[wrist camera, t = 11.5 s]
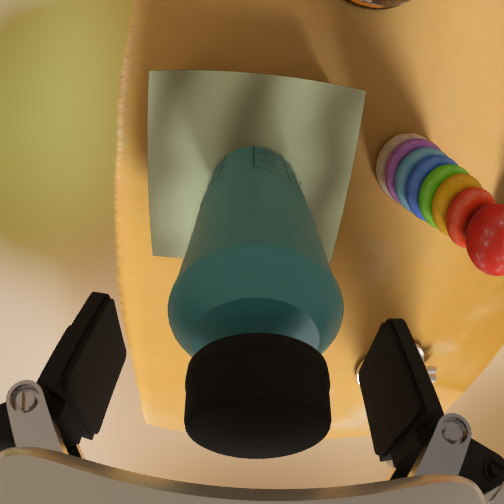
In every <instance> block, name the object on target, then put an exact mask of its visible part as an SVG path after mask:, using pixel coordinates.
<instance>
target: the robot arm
mask: <svg viewBox="0 0 504 504" xmlns="http://www.w3.org/2000/svg"><path fill="white" fill-rule="evenodd" d="M125 359H126V348H125V345H124V341H123V337H122V333H121V329H120V325H119V320H118V316H117V312H116V307H115V302H114V300H113V299H110V296H109V295H108V294H105V293H99V292H92V293H91V295H90V296H89V298H88V299H87V301H86V302H85V304H84V305H83V307H82V309H81V310H80V312H79V314H78V315H77V317H76V318H75V320H74V322H73V323H72V325H70V326H69V327H68V328H67V329H66V331H65V333H64V334H63V336H62V338H61V340H60V341H59V343H58V344H57V346H56V348H55V350H54V351H53V353H52V355H51V357H50V359H49V361H48V362H47V364H46V366H45V368H44V370H43V371H42V373H41V375H40V377H39V379H38V381H37V383H35V382H33V381H30V380H24V381H20V382H18V383H16V384H14V385H13V386H12V387H11V388H10V390H9V391H8V394H7V397H6V402H5V403H2V404H0V504H504V459H503V458H502V457H501V456H500V455H498V454H497V453H495V452H493V451H492V450H490V449H488V448H487V447H485V446H483V445H482V444H480V443H478V442H477V441H475V440H473V439H472V438H471V428H470V425H469V423H468V422H467V421H466V419H465V418H463V417H462V416H461V415H458V414H455V413H449V414H446V415H444V413H443V410H442V407H441V405H440V402H439V399H438V397H437V394H436V392H435V389H434V387H433V384H432V383H434V382H435V380H436V374H435V373H436V366H429V367H426V366H425V365H424V352H423V350H422V348H421V346H420V345H418V344H417V343H415V342H414V340H413V337H412V335H411V333H410V331H409V329H408V327H407V324H406V322H405V321H404V320H403V319H387V320H386V322H384V323H382V324H381V326H380V328H379V330H378V333H377V335H376V337H375V339H374V341H373V343H372V345H371V347H370V350H369V352H368V354H367V356H366V358H365V359H364V360H363V361H362V362H361V363H360V364H359V366H358V368H357V371H356V378H357V382H358V383H359V385H360V387H361V391H362V395H363V400H364V404H365V408H366V413H367V417H368V422H369V427H370V431H371V436H372V441H373V446H374V451H375V453H376V454H377V455H379V458H380V461H386V462H387V464H388V465H389V467H390V468H391V469H392V470H391V472H390V474H389V475H388V477H387V479H386V481H381V482H374V483H367V484H358V485H350V486H340V487H329V488H313V489H248V488H247V489H246V488H232V487H221V486H210V485H201V484H194V483H186V482H180V481H174V480H168V479H163V478H157V477H152V476H147V475H143V474H138V473H134V472H130V471H126V470H122V469H118V468H114V467H110V466H106V465H102V464H99V463H96V462H92V461H89V460H85V458H84V455H83V453H82V451H81V449H80V446H79V443H80V440H81V437H84V438H87V439H90V440H92V439H93V436H94V434H97V433H98V432H99V430H100V428H101V425H102V422H103V419H104V416H105V413H106V410H107V407H108V405H109V402H110V399H111V396H112V394H113V391H114V388H115V385H116V382H117V380H118V377H119V375H120V372H121V369H122V367H123V364H124V362H125Z"/></svg>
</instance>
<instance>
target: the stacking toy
mask: <svg viewBox="0 0 504 504" xmlns="http://www.w3.org/2000/svg"><path fill="white" fill-rule="evenodd" d="M376 175H377V180H378V183H379V185H380V187H381V189H382V190H383V192H384V193H385V194H386V195H387V196H388V197H389V198H391V199H392V200H394V201H396V202H398V203H399V204H401V205H403V206H404V207H405V208H406V209H407V210H408V211H410V212H411V213H414V214H415V215H416V216H417V217H418V218H420V219H421V220H424V221H427V222H428V223H429V224H430V225H431V226H433V227H435V228H438V229H439V230H440V231H441V232H442V233H444V234H445V235H448V236H450V238H451V240H452V241H453V242H454V243H455V244H457V245H458V246H460V247H464V248H467V252H468V255H469V257H470V259H471V261H472V262H473V263H474V265H475V266H476V267H477V268H478V269H479V270H481V271H482V272H484V273H486V274H488V275H492V276H501V275H504V205H503V204H496V203H495V200H494V198H493V197H492V195H491V194H490V193H489V192H487V191H486V190H484V189H483V188H482V186H481V184H480V183H479V181H478V180H477V179H475V178H474V177H473V176H471V175H469V173H468V172H467V171H466V170H465V169H463V168H462V167H460V166H458V164H457V163H456V162H455V161H453V160H452V159H450V158H449V157H448V156H447V155H446V154H445V153H443V152H442V151H441V150H440V149H439V147H437V146H436V145H435V144H434V143H432V142H431V141H429V140H428V139H426V138H425V137H423V136H421V135H419V134H415V133H403V134H399V135H397V136H395V137H393V138H391V139H390V140H389V141H388V142H387V143H386V144H385V145H384V146H383V148H382V149H381V151H380V153H379V156H378V158H377V163H376Z"/></svg>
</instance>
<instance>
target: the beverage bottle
mask: <svg viewBox="0 0 504 504" xmlns="http://www.w3.org/2000/svg"><path fill="white" fill-rule="evenodd" d="M254 146H255V145H254ZM254 146H253V147H245V148H241V149H238V150H235V151H233V152H231V153H230V154H228V155H227V156H226V155H225V156H226V157H224V158H223V159H222V160H221V161H220V162H219V163H218V162H217V163H218V164H217V166H216V165H215V166H216V168H215V167H214V169H215V170H213V171H214V172H212V173H213V175H211V174H210V175H211V176H212V177H211V179H208V180H210V182H209V181H208V182H209V185H208V186H207V191H205V194H204V195H203V196H204V197H203V200H202V202H201V205H200V210H199V213H198V214H197V215H198V216H197V219H196V223H195V225H194V230H193V233H192V235H191V238H190V241H189V244H188V247H187V250H186V253H185V256H184V260H183V263H182V266H181V269H180V272H179V275H178V278H177V280H176V281H175V283H174V285H173V288H172V291H171V293H170V297H169V302H168V317H169V323H170V326H171V329H172V332H173V334H174V336H175V338H176V340H177V341H178V343H179V344H180V345H181V347H182V348H183V349H184V350H185V351H186V352H187V353H188V354H189V355H190V356H192V359H191V360H190V362H189V365H188V369H187V375H186V380H185V390H186V401H185V415H184V424H185V429H186V432H187V433H188V435H189V436H190V437H191V439H192V440H193V441H195V442H196V443H197V444H199V445H200V446H202V447H204V448H206V449H208V450H211V451H213V452H216V453H219V454H223V455H227V456H232V457H238V458H248V459H265V458H275V457H282V456H287V455H291V454H295V453H298V452H301V451H304V450H306V449H308V448H310V447H312V446H314V445H316V444H317V443H319V442H320V441H321V440H322V439H323V438H324V437H325V436H326V435H327V433H328V431H329V429H330V425H331V409H330V396H329V391H330V378H329V372H328V367H327V364H326V361H325V359H324V357H323V356H322V355H321V354H322V353H323V352H324V351H325V350H326V349H327V348H328V347H329V346H330V344H331V343H332V342H333V340H334V339H335V337H336V335H337V333H338V331H339V329H340V326H341V323H342V320H343V313H344V303H343V298H342V294H341V290H340V288H339V285H338V283H337V281H336V279H335V277H334V276H333V274H332V271H331V268H330V265H329V262H328V259H327V256H326V254H325V251H324V248H323V245H322V242H321V240H322V237H321V240H320V237H319V234H318V232H317V228H316V225H315V223H316V221H315V222H314V219H313V216H314V215H313V216H312V214H311V211H310V209H309V207H308V204H307V202H306V199H305V198H306V197H304V195H303V192H302V190H301V188H300V185H301V181H299V182H300V185H299V183H298V181H297V179H298V178H299V177H298V178H296V175H297V174H296V173H295V174H296V175H295V174H294V172H295V171H294V172H293V170H292V168H291V166H292V165H291V164H290V163H291V162H290V163H288V162H287V161H286V160H285V159H284V158H283V157H282V155H281V153H280V155H279V154H278V153H276V152H274V151H272V150H271V149H268V148H269V147H268V148H263V147H254ZM257 146H259V145H257ZM264 147H265V146H264ZM273 150H274V149H273ZM275 151H276V150H275ZM277 152H278V151H277ZM283 156H284V155H283ZM221 158H222V157H221ZM221 158H220V159H221ZM220 159H219V160H220ZM219 160H218V161H219ZM289 164H290V165H289ZM292 167H293V166H292ZM294 170H295V169H294ZM298 180H300V179H298ZM207 184H208V183H207ZM201 197H202V196H201ZM199 203H200V202H199ZM309 204H310V203H309ZM198 205H199V204H198ZM312 210H313V209H312ZM317 221H318V220H317ZM192 224H193V223H192ZM191 230H192V229H191ZM320 233H321V232H320Z"/></svg>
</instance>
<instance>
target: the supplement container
mask: <svg viewBox="0 0 504 504" xmlns="http://www.w3.org/2000/svg"><path fill="white" fill-rule="evenodd" d="M343 1H345V2H347V3H349V4H351V5H354V6H357V7H360V8H364V9H370V10H385V9H390V8H394V7H396V6H399V5H400V4H402V3H404V2H407V1H410V0H343Z"/></svg>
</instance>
